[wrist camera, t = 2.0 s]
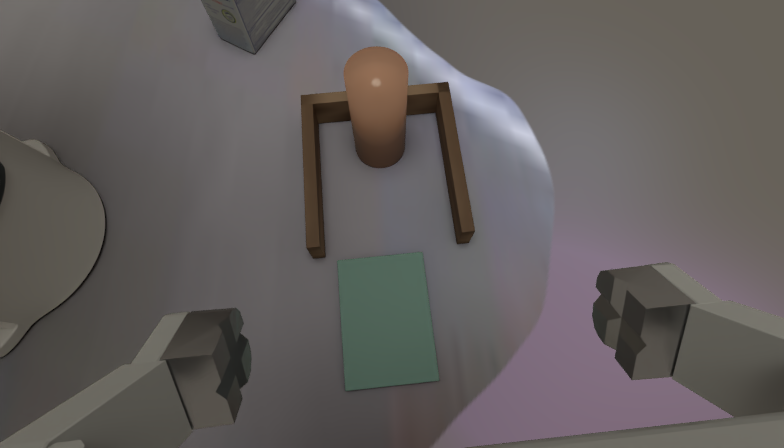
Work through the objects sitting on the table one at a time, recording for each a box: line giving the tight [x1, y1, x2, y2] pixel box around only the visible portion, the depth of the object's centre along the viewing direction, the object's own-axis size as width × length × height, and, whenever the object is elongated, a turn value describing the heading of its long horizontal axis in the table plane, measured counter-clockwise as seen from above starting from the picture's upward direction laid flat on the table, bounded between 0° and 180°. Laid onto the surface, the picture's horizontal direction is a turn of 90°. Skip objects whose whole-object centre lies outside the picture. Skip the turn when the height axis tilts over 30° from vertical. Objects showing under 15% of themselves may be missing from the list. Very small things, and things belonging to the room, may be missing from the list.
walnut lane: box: [301, 82, 475, 258], centre depth 37 cm, size 13×14×3 cm
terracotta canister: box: [344, 47, 408, 168], centre depth 35 cm, size 4×4×10 cm
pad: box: [337, 252, 439, 391], centre depth 34 cm, size 7×10×1 cm
